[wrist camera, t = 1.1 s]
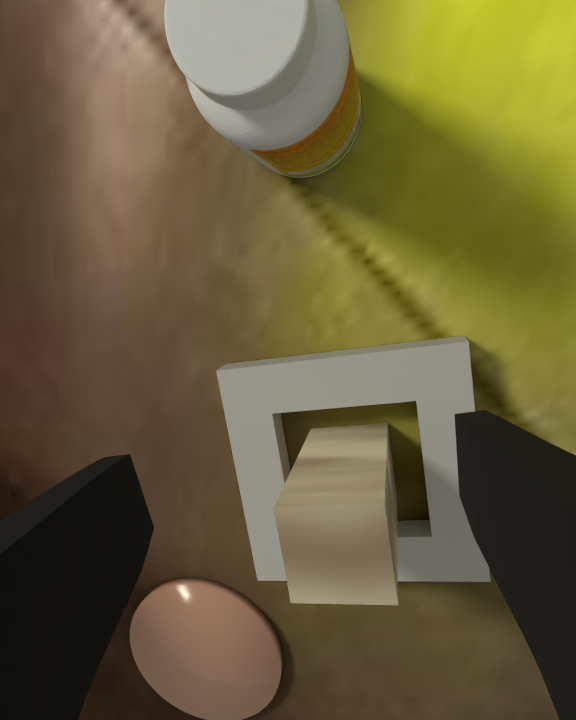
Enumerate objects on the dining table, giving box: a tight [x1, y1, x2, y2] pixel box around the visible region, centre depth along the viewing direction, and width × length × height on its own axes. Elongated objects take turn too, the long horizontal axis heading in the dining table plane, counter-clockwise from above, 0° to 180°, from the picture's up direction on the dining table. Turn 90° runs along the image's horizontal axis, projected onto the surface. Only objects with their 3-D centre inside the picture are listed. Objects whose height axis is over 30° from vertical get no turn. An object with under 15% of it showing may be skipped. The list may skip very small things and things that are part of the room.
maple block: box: [273, 423, 398, 605], centre depth 20 cm, size 4×4×8 cm
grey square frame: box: [216, 336, 490, 582], centre depth 24 cm, size 12×12×2 cm
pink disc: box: [130, 578, 283, 720], centre depth 29 cm, size 10×10×1 cm
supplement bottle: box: [164, 0, 362, 178], centre depth 16 cm, size 5×5×10 cm
